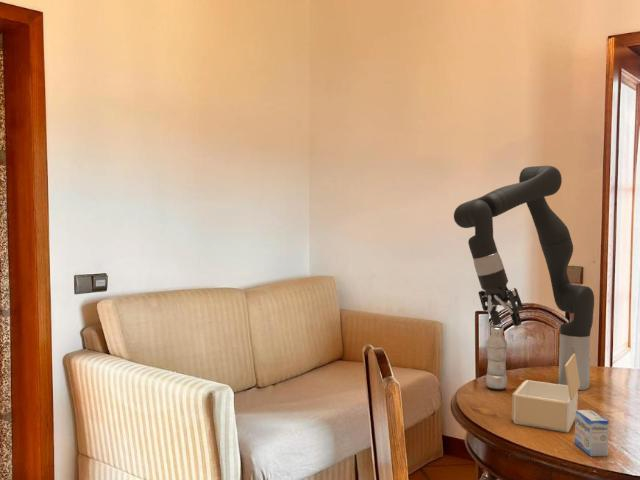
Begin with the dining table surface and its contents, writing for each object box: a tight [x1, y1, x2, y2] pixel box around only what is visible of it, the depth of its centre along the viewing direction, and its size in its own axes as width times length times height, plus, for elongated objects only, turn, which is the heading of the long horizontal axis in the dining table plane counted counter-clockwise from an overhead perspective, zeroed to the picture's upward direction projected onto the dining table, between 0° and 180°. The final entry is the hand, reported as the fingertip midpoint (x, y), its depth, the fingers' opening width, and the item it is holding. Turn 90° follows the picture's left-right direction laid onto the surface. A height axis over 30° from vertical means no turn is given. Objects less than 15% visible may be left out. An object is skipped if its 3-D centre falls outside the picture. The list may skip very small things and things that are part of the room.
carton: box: [511, 379, 579, 433], centre depth 175 cm, size 17×15×8 cm
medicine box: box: [574, 409, 610, 457], centre depth 153 cm, size 8×4×9 cm, turn 5°
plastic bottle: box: [485, 325, 508, 390], centre depth 203 cm, size 6×7×20 cm
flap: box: [565, 354, 580, 400], centre depth 171 cm, size 15×9×1 cm
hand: (507, 324), depth 177 cm, fingers open, 8 cm apart
